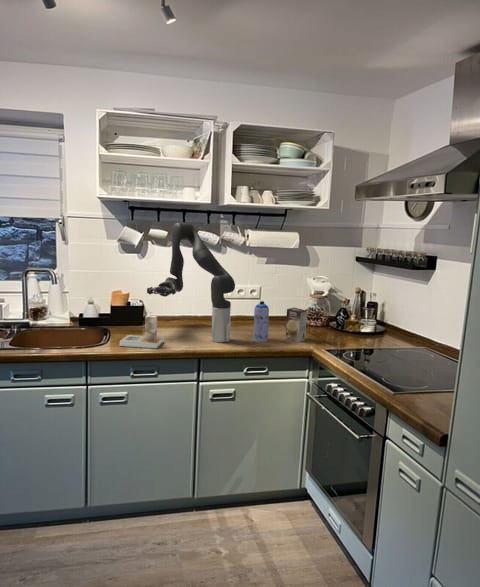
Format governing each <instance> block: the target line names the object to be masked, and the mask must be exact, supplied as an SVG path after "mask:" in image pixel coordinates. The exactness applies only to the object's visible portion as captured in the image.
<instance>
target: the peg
mask: <svg viewBox="0 0 480 587" xmlns="http://www.w3.org/2000/svg"><path fill="white" fill-rule="evenodd" d="M144 323H145V324H144V336H145V340H148V341H156V340H157V337H158V315H157V314H156V315H153V314H147V315H146V316H144Z"/></svg>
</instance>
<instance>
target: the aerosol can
mask: <svg viewBox="0 0 480 587" xmlns="http://www.w3.org/2000/svg"><path fill="white" fill-rule="evenodd" d="M269 313H270V307H269V306H268V305H267V304H265V301H262V300H261V301H259V303H258V304H256V305H255V306H254V313H253V315H254V316H253V334H252V335H253V338H252V339H253V340H254V341H256V342H266V341H268V340H269V338H268V337H269V318H270V317H269V316H270V314H269Z"/></svg>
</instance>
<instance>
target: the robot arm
mask: <svg viewBox="0 0 480 587" xmlns="http://www.w3.org/2000/svg"><path fill="white" fill-rule="evenodd" d="M171 232H172V233H171V262H170V267H169V273H170V275H172V276H174V277H175V278H174V277H170V276H169V277H167V278H165V280H164V281H162V282H160V283H159V284H158V285H157V286H155V287H152V286H150V287H148V288H146V293H147V294H148V295H152V294H153V295H160V296H161V297H168V296H170V295H172V296H174V295H175V294H176V293H180V292H181V291H182V290H184V289H183V288H184V280H183V279H184V278H183V271H184V270H183V269H184V265H185V260H184V256H183V253H182V250H181V241H182V240H183V241H184V240H185V241H188V242H189V243H190V244H191V246H192V257H193V259H194V261H195V263H196V264H198V266H199V267H200V268H201V269H203V270H204V271H206V272H208V273H209V274H211V275H213V277H212V279H211V281H210V282H211V283H210V300H211V301H210V302H211V305H212V309H211V310H212V312H211V341H212V342H215V343H229V342H230V340H231V326H232V325H231V324H232V321H231V310H232V309H231V308H232V303H231V302H230V300H227V299H225V294H230V293H233V292H234V291H235V289H236V282H235V280H234V278H233V276H232V275H231V274H230V273H229V272H228V271H227V270H226V269H225V267H223V266H222V265H221V263H220V262H219V261H218V259H217V258H216V257H215V256H214V254H213V253H212V251H210V249H209V248H208V246H207V245H206V244H205V242H204V241H203V240H202V238H201V236H200V235H199V233H198V232H197V230H196V228H195V226H194V225H193V224H192V223H190V222H176V223H174V224H173V227H172V230H171Z"/></svg>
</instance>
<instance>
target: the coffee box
mask: <svg viewBox="0 0 480 587" xmlns="http://www.w3.org/2000/svg"><path fill="white" fill-rule="evenodd" d="M307 316H308V310H306V309H302V308H298V307H290V308H286V319H285V335H284V336H285V337H284V339H286V340H290V341H294V342H297V343H298V342H303V341H305V340H306V332H307V331H306V330H307V329H306V328H307Z"/></svg>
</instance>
